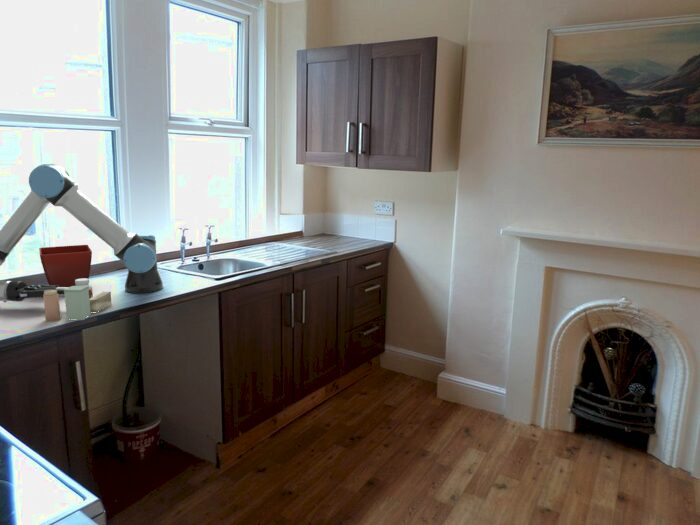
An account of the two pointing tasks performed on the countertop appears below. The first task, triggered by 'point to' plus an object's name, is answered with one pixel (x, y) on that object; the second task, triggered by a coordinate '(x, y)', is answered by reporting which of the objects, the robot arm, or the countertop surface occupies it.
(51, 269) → the plant pot
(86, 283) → the pill bottle
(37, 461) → the countertop surface
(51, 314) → the spice jar
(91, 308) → the block
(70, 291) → the tea tin
